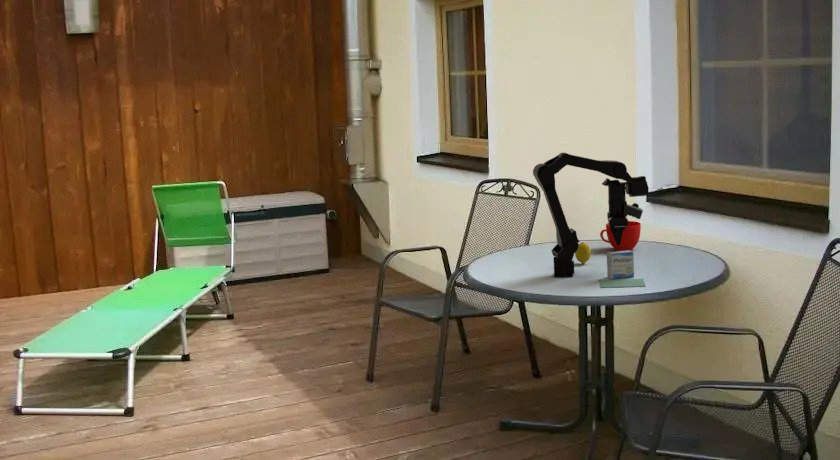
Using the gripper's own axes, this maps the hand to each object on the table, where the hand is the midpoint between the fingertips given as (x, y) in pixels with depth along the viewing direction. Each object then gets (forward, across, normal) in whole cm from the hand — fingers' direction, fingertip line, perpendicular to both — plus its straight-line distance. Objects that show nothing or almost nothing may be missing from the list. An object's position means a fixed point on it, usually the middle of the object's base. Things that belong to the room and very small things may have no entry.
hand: (618, 242), depth 331 cm
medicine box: (+10, -10, 0) cm, 14 cm away
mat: (+10, -20, 0) cm, 22 cm away
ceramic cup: (+10, +36, -2) cm, 37 cm away
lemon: (+10, +13, +12) cm, 20 cm away
